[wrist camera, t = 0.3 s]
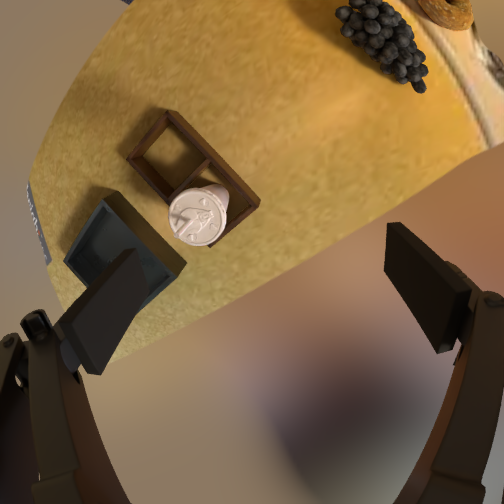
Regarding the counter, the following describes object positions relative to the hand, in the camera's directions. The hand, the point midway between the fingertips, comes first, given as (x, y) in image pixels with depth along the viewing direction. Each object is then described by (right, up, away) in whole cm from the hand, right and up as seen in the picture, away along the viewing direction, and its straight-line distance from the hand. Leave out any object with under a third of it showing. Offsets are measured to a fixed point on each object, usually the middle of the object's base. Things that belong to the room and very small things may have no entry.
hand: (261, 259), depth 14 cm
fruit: (+16, +27, +13) cm, 34 cm away
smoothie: (-5, +8, +25) cm, 26 cm away
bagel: (+27, +37, +7) cm, 46 cm away
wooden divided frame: (-8, +11, +24) cm, 27 cm away
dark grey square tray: (-21, 0, +30) cm, 37 cm away
